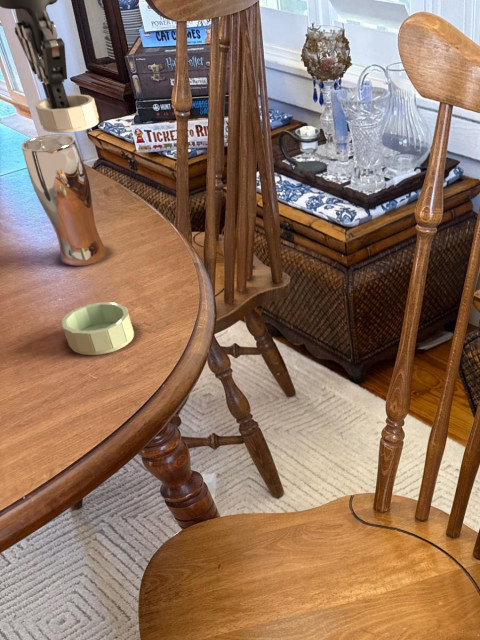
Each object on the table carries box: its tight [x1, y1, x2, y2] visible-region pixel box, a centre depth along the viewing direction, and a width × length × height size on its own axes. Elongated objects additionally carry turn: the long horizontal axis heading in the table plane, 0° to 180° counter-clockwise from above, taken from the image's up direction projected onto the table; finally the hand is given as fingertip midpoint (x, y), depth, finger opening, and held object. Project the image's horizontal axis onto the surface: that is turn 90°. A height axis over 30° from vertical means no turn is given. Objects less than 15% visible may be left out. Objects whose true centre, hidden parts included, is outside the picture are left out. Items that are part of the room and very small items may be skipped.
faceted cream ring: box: [34, 93, 100, 134], centre depth 106 cm, size 7×7×3 cm
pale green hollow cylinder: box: [61, 301, 135, 356], centre depth 91 cm, size 7×7×3 cm
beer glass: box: [20, 133, 107, 267], centre depth 104 cm, size 7×7×15 cm
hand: (61, 112), depth 108 cm, fingers closed on faceted cream ring, 1 cm apart
